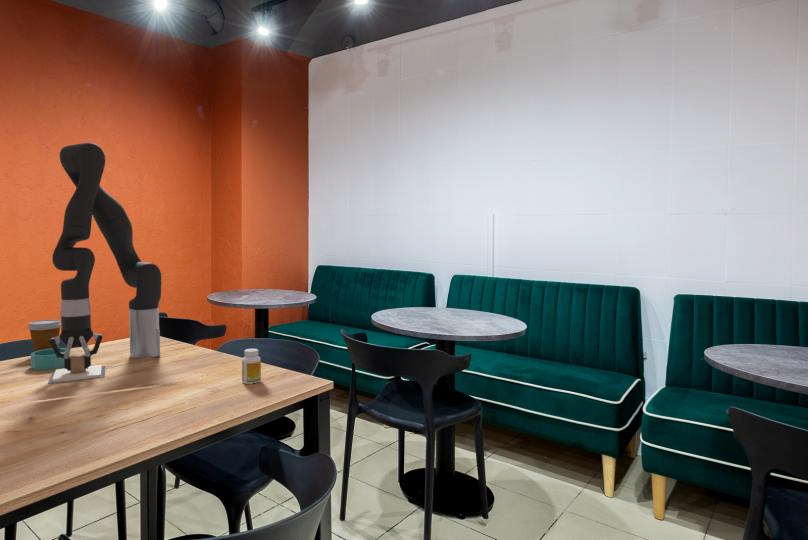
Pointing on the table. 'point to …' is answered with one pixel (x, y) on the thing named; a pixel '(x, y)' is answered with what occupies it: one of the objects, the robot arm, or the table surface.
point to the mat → (78, 380)
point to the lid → (77, 370)
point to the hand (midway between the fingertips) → (77, 368)
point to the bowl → (46, 359)
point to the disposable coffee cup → (43, 333)
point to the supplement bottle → (251, 367)
